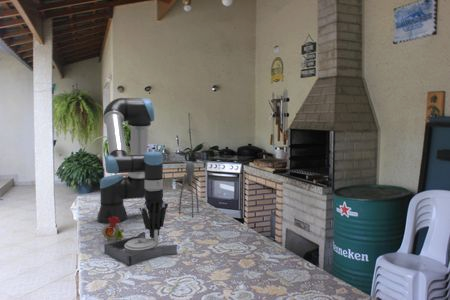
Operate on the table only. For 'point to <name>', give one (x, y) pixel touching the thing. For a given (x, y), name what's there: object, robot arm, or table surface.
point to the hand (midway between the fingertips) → (154, 244)
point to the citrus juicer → (189, 176)
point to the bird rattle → (110, 231)
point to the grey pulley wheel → (139, 245)
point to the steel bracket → (115, 252)
